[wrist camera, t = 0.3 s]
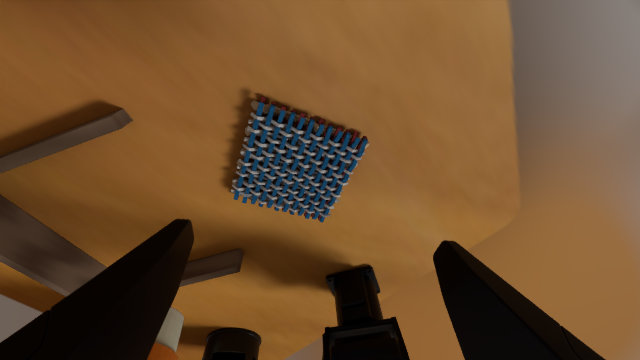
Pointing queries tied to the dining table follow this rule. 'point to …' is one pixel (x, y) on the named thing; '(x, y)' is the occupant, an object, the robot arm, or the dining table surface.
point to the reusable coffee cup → (168, 337)
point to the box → (53, 250)
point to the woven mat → (295, 162)
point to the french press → (232, 345)
